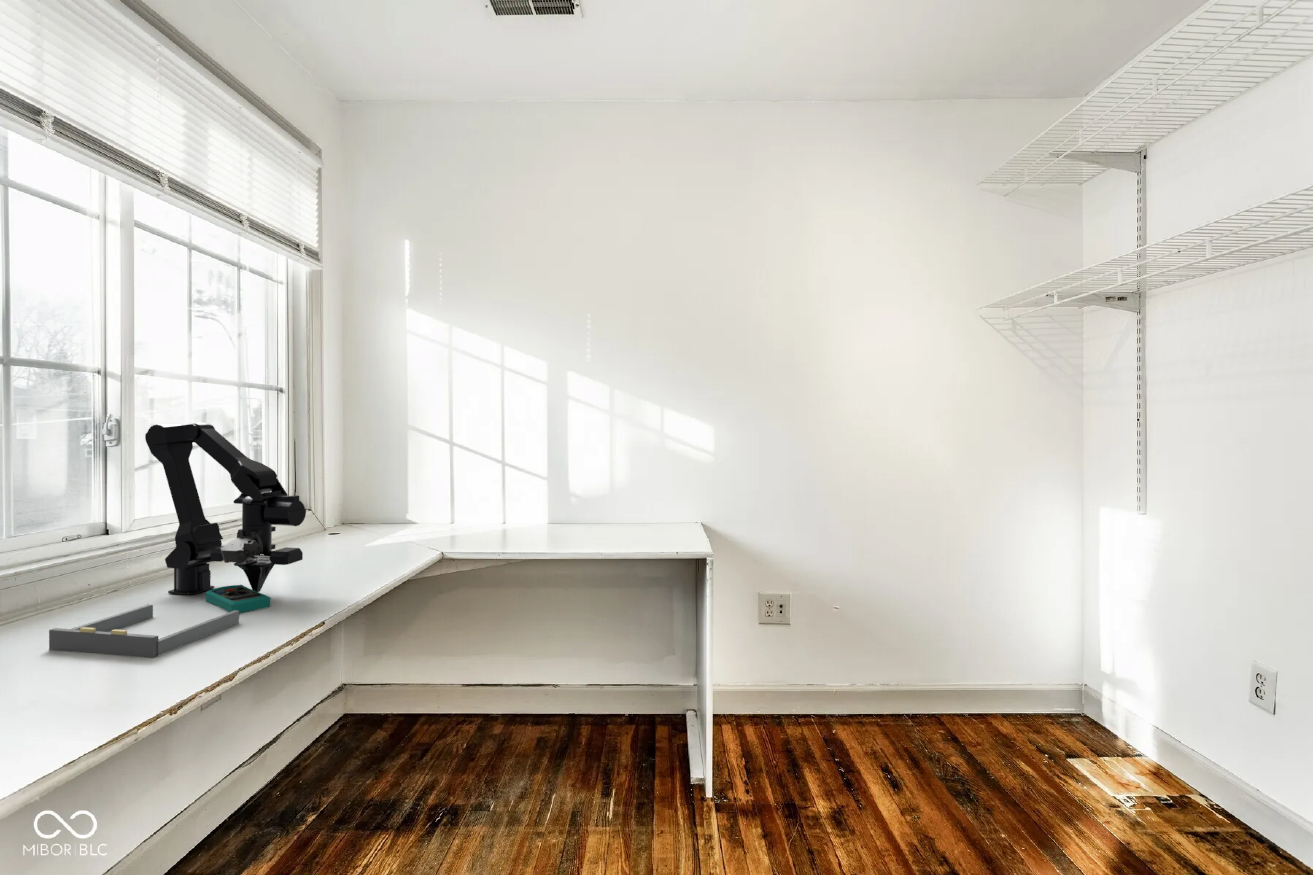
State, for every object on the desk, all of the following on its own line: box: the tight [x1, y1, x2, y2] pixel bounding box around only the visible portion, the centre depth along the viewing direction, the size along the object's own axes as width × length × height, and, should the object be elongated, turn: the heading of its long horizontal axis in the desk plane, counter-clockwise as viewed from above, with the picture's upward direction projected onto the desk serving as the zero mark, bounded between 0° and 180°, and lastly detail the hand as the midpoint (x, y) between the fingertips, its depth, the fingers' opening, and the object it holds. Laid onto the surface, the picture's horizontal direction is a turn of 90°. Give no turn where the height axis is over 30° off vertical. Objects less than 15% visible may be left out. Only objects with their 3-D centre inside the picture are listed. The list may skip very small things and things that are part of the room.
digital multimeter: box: [205, 584, 271, 614], centre depth 145 cm, size 8×15×3 cm, turn 53°
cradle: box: [48, 604, 240, 659], centre depth 123 cm, size 20×20×4 cm
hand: (256, 592), depth 150 cm, fingers closed
